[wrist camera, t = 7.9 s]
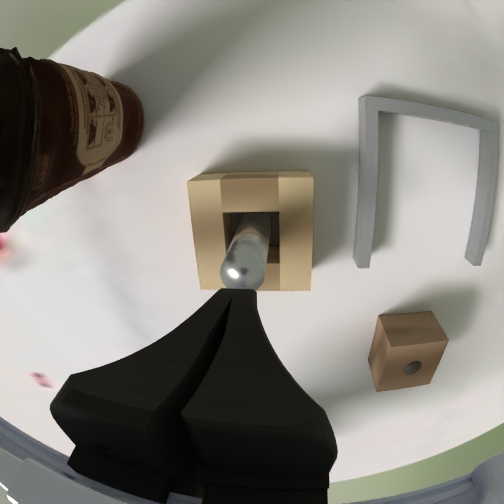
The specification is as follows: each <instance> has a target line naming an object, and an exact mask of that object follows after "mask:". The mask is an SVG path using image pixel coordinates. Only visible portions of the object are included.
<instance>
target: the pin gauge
mask: <svg viewBox="0 0 504 504" xmlns="http://www.w3.org/2000/svg"><path fill="white" fill-rule="evenodd" d="M270 231H271V220H270V218H269V216H268V215H267V214H266V213H265V212H247V213H245V214H244V216H243V217H242V220H241V222H240V224H239V226H238V229H237V231H236V233H235V235H234V238H233V240H232V242H231V244H230V247H229V249H228V251H227V253H226V256H225V258H224V260H223V263H222V265H221V268H220V278H221V280H222V282H223V284H224V285H225V286H226V287H227V288H233V289H254V290H255V291H256V290H258V289H259V288H260V287H261V285H262V284H263V281H264V277H265V270H266V262H267V254H268V247H269V239H270Z"/></svg>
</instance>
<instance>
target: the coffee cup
mask: <svg viewBox="0 0 504 504" xmlns="http://www.w3.org/2000/svg"><path fill="white" fill-rule="evenodd" d="M143 129H144V115H143V110H142V105H141V102H140V100H139V98H138V97H137V95H136V94H135V93H134V92H133V91H132V90H131V89H130V88H128V87H127V86H125V85H122V84H119V83H117V82H115V81H109V80H107V79H105V78H103V77H102V76H100V75H98V74H96V73H93V72H88V71H84V70H80V69H78V68H75V67H72V66H69V65H65V64H61V63H56V62H54V61H52V60H50V59H48V60H47V59H40V60H36V59H33V58H32V57H28V58H22V57H21V56H20V54H19V52H18V50H17V48H16V47H15V48H13V49H11V50H9V49H3V48H0V233H3V232H7V231H8V230H9V229H10V227H11V226H12V225H13V224H14V223H15V222H16V221H17V220H18V219H19V217H20V216H22V215H24V214H25V213H26V212H27V211H29V210H31V209H33V208H35V207H37V206H38V205H40V204H42V203H44V202H45V201H47V200H48V199H50V198H52V197H53V196H56V195H57V194H59V193H60V192H61V191H64V190H66V189H68V188H70V187H72V186H74V185H75V184H77V183H78V182H80V181H83V180H86V179H88V178H90V177H92V176H94V175H96V174H98V173H99V172H101V171H103V170H104V169H106V168H107V167H110V166H112V165H114V164H116V163H119V162H121V161H123V160H125V159H126V158H128V157H129V156H131V155H132V154H133V152H134V151H135V149H136V147H137V145H138V143H139V141H140V139H141V136H142V134H143Z"/></svg>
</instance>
